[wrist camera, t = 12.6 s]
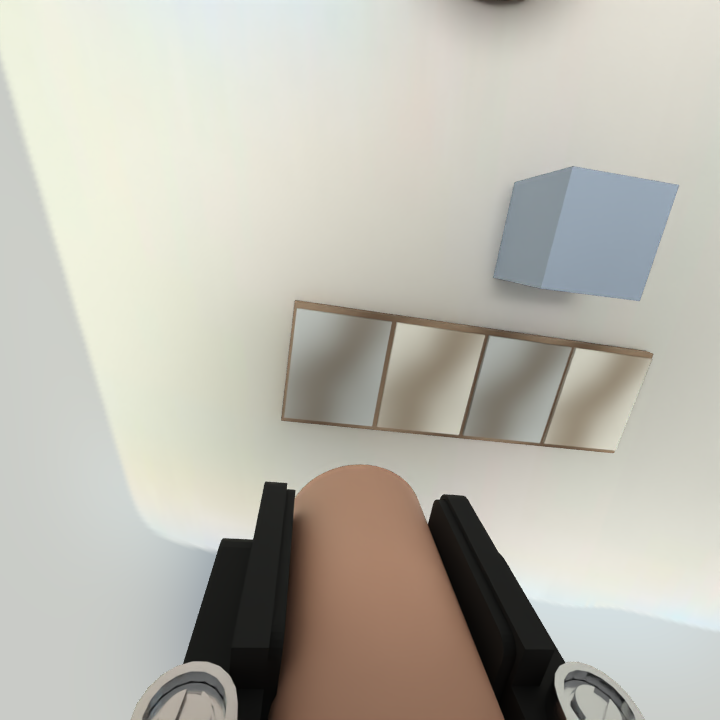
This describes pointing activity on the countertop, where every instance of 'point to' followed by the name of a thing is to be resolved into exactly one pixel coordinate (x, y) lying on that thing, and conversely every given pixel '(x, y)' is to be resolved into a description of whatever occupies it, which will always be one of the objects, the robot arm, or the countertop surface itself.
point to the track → (457, 380)
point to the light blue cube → (584, 232)
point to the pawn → (373, 611)
